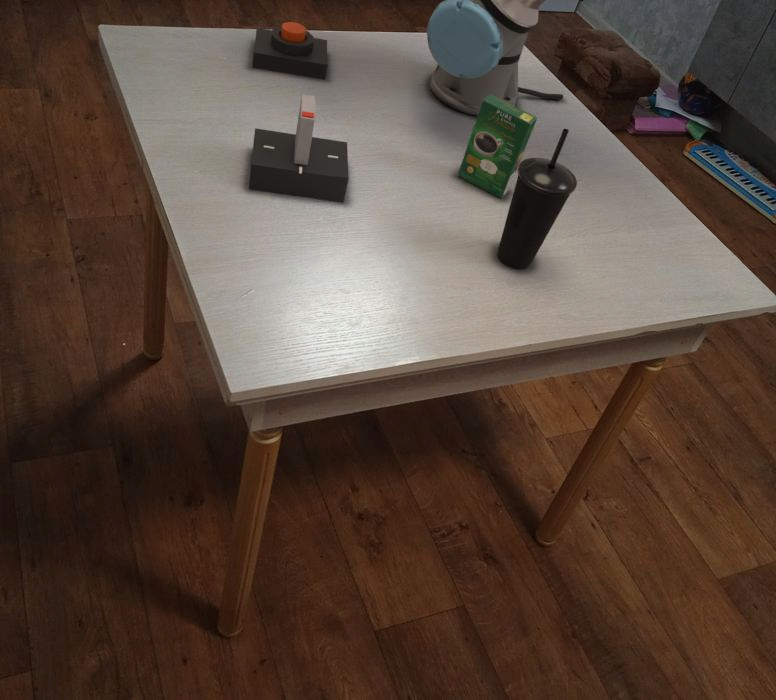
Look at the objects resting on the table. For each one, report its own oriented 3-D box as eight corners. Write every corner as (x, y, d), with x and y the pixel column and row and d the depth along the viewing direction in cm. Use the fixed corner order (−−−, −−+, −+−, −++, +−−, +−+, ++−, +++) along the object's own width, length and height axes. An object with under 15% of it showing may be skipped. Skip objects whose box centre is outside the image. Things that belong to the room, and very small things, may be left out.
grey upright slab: (295, 139, 115) (301, 92, 110) (307, 141, 115) (315, 94, 110) (294, 163, 111) (301, 115, 106) (307, 165, 111) (315, 117, 106)
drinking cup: (539, 283, 110) (596, 154, 96) (484, 266, 110) (533, 136, 96) (542, 250, 116) (597, 124, 102) (490, 234, 116) (537, 106, 102)
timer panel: (342, 163, 121) (347, 138, 118) (343, 205, 114) (348, 179, 111) (252, 150, 118) (255, 124, 115) (248, 191, 111) (251, 165, 108)
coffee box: (510, 193, 125) (539, 115, 115) (502, 200, 123) (531, 122, 113) (465, 169, 127) (489, 91, 117) (456, 176, 125) (480, 98, 116)
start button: (305, 34, 138) (306, 24, 137) (304, 45, 135) (306, 35, 134) (281, 30, 137) (282, 20, 136) (280, 41, 135) (281, 30, 133)
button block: (324, 54, 144) (328, 29, 140) (325, 79, 137) (329, 54, 134) (255, 42, 141) (257, 17, 138) (252, 67, 135) (254, 41, 132)
